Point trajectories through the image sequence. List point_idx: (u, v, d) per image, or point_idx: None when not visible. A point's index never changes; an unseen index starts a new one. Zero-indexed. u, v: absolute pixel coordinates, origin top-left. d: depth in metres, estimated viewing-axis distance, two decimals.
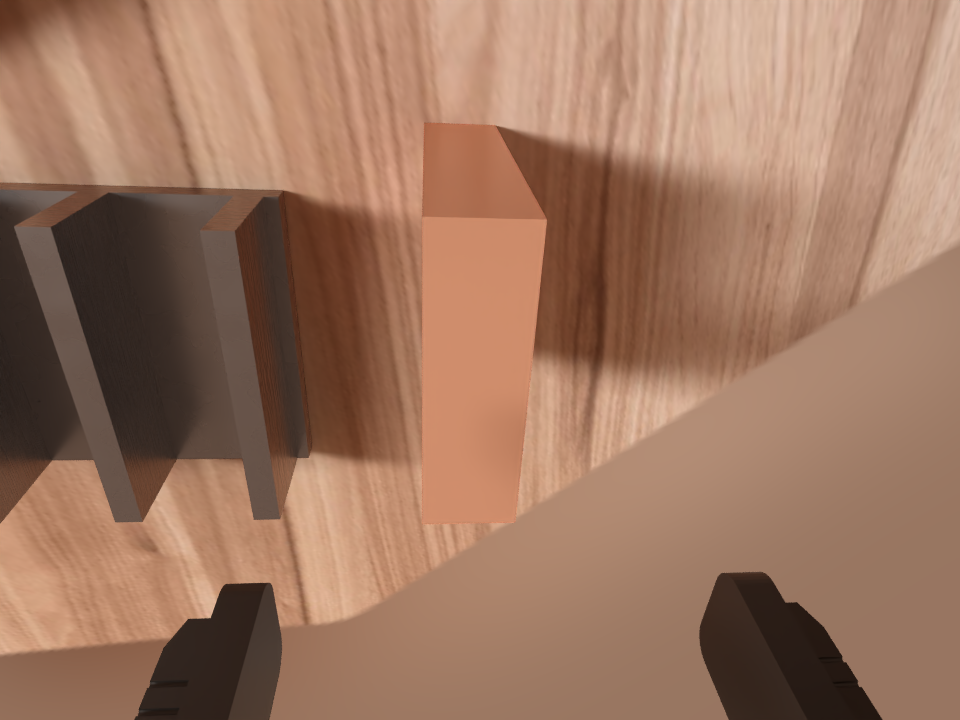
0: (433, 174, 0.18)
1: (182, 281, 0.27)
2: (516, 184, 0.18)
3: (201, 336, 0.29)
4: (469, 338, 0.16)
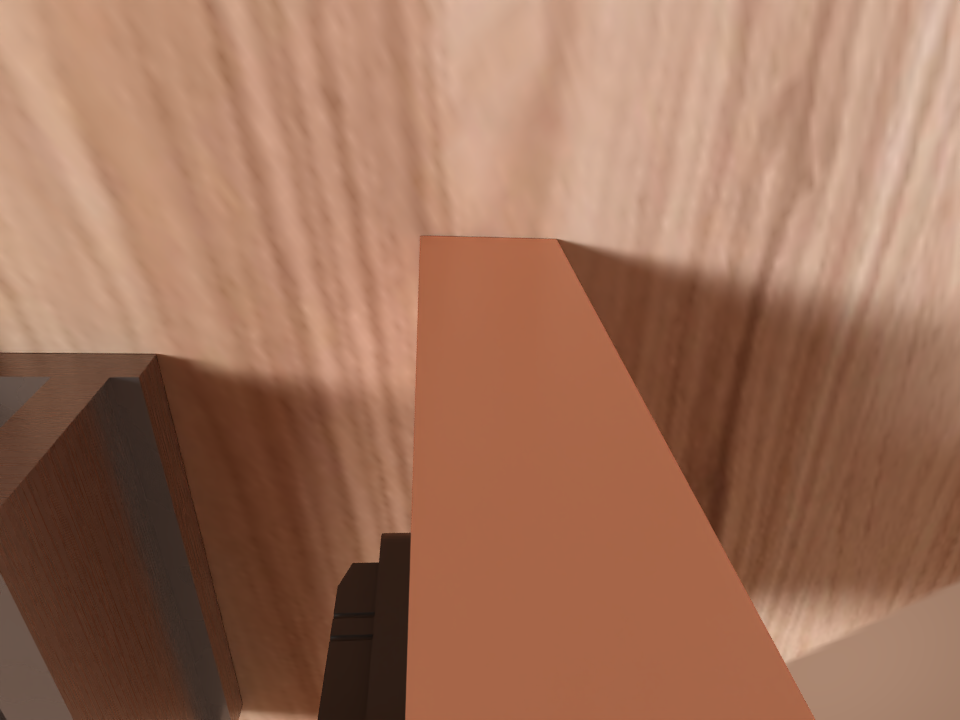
0: (443, 553, 0.06)
1: None
2: (726, 626, 0.05)
3: None
4: None
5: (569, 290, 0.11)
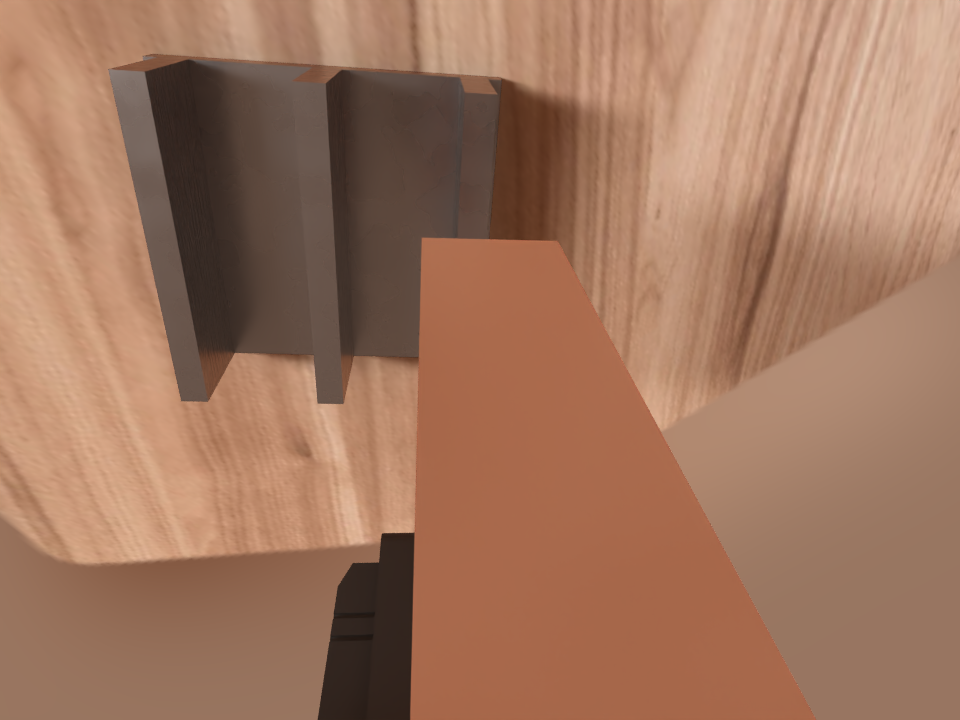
0: (447, 555, 0.06)
1: (393, 166, 0.28)
2: (729, 628, 0.05)
3: (401, 225, 0.29)
4: None
5: (571, 292, 0.11)
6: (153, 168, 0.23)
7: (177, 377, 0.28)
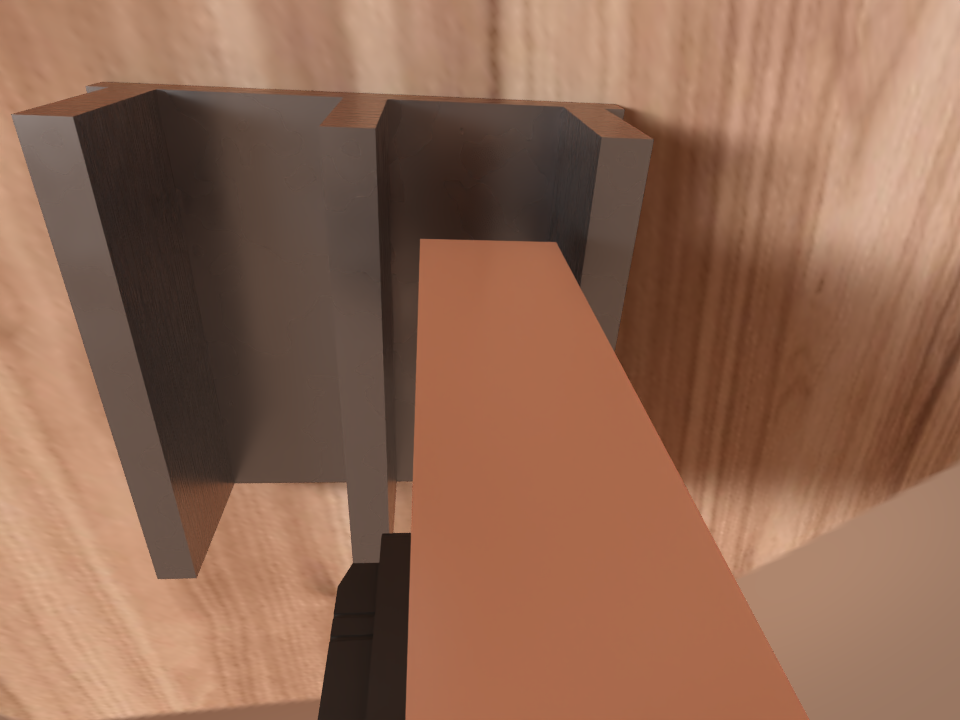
0: (443, 557, 0.06)
1: (460, 236, 0.19)
2: (724, 631, 0.05)
3: None
4: None
5: (569, 293, 0.11)
6: (97, 267, 0.14)
7: (150, 550, 0.19)
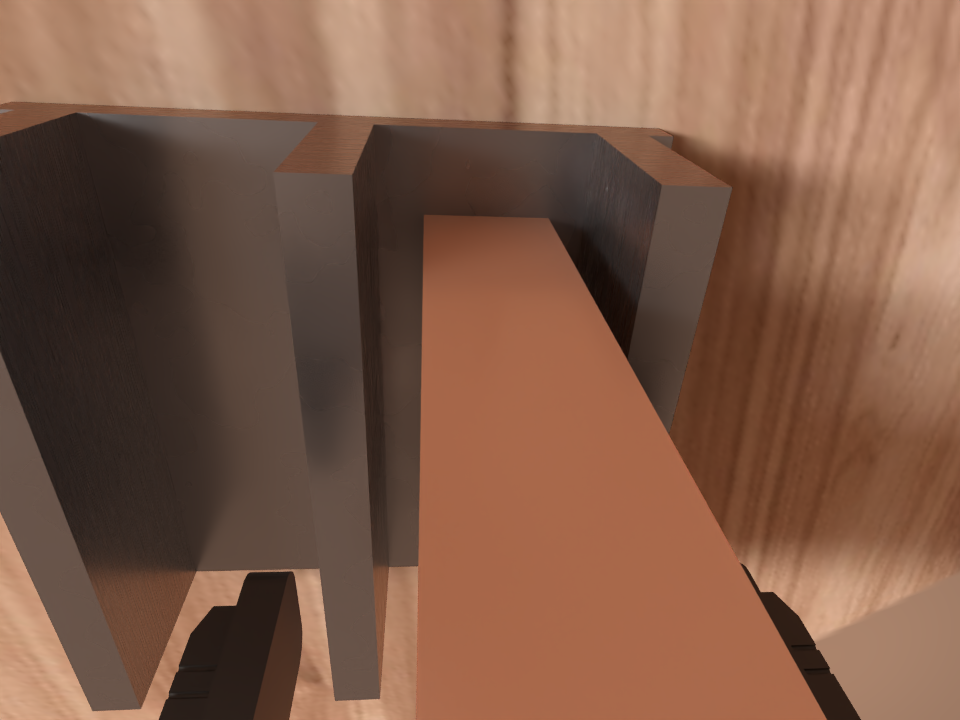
0: (447, 451, 0.07)
1: None
2: (675, 502, 0.06)
3: None
4: None
5: (558, 260, 0.12)
6: None
7: (81, 681, 0.15)
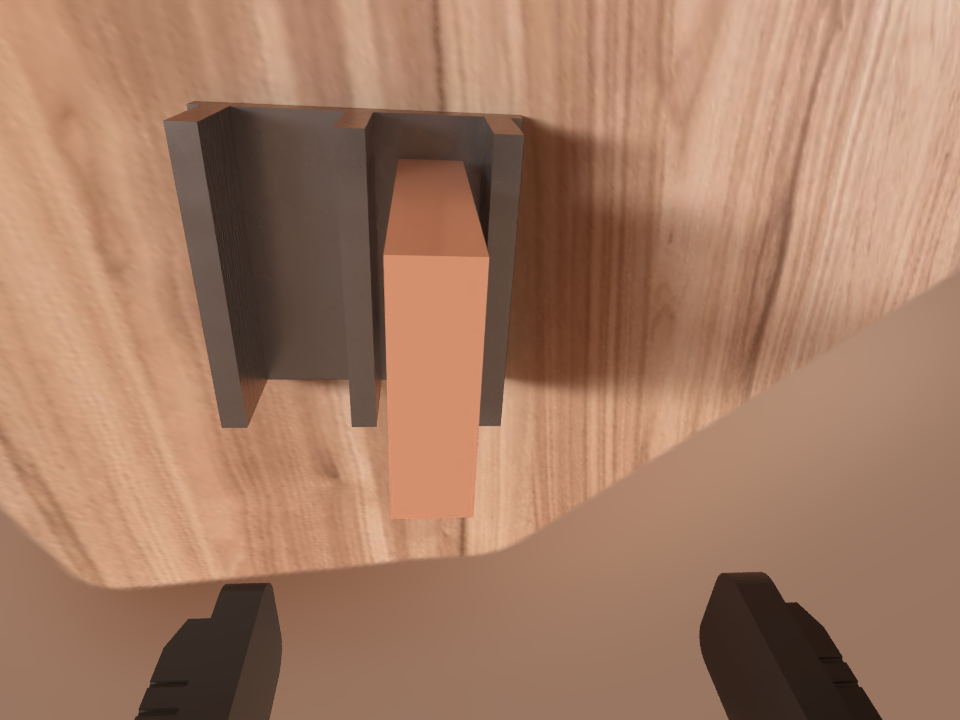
0: (399, 213, 0.21)
1: None
2: (470, 222, 0.20)
3: None
4: (426, 356, 0.19)
5: (460, 174, 0.26)
6: (202, 210, 0.25)
7: (218, 405, 0.29)
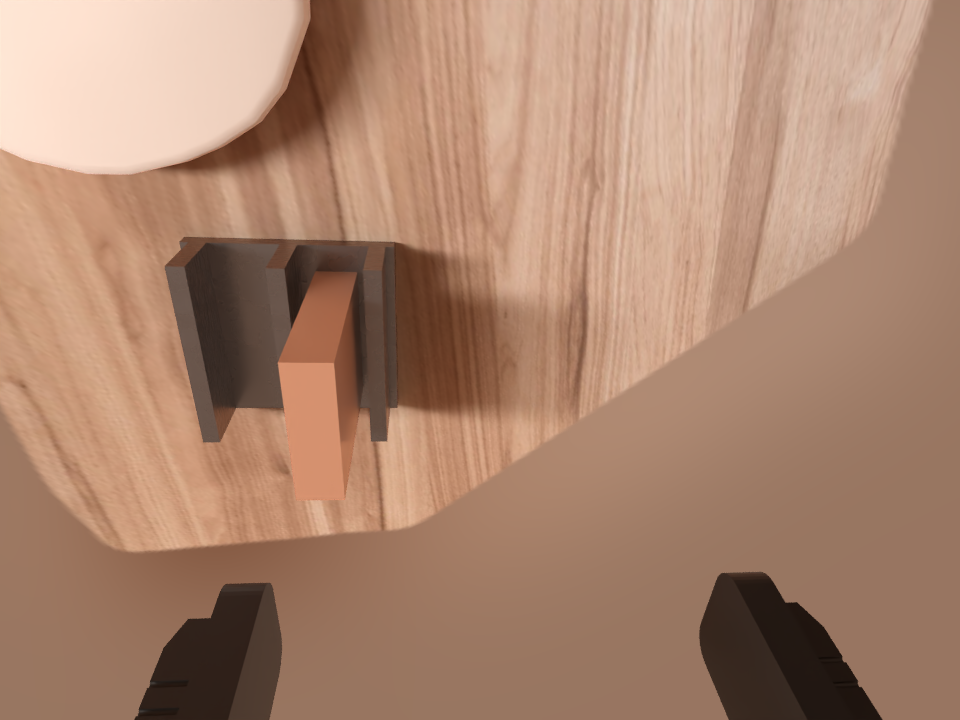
0: (297, 327, 0.37)
1: None
2: (335, 334, 0.36)
3: None
4: (306, 411, 0.35)
5: (349, 287, 0.42)
6: (188, 314, 0.41)
7: (201, 428, 0.45)
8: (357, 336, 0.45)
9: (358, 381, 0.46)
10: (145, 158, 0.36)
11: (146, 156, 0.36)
